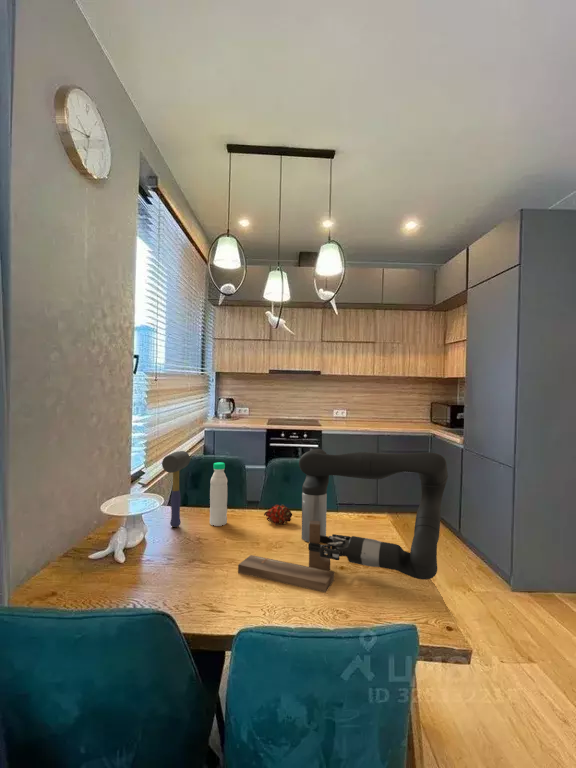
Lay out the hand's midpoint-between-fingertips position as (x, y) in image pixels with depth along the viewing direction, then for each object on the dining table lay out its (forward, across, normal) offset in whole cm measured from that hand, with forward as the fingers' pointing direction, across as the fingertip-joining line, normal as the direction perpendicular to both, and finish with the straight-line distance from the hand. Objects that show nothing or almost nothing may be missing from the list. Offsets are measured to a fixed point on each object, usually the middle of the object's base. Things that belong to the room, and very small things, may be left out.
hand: (313, 542), depth 129 cm
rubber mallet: (+63, -12, +9) cm, 64 cm away
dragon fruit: (+28, -34, +9) cm, 45 cm away
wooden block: (-2, 0, +9) cm, 9 cm away
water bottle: (+50, -23, +9) cm, 55 cm away
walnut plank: (+6, +8, +8) cm, 13 cm away
